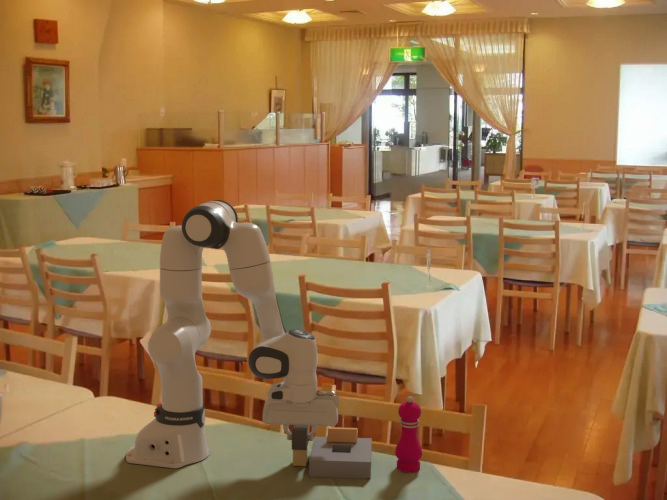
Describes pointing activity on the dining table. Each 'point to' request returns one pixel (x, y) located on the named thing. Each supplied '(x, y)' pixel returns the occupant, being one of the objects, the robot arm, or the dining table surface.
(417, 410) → the pepper mill
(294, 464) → the plug
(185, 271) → the robot arm
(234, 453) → the dining table surface
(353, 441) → the block
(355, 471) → the socket block
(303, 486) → the dining table surface
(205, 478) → the dining table surface
